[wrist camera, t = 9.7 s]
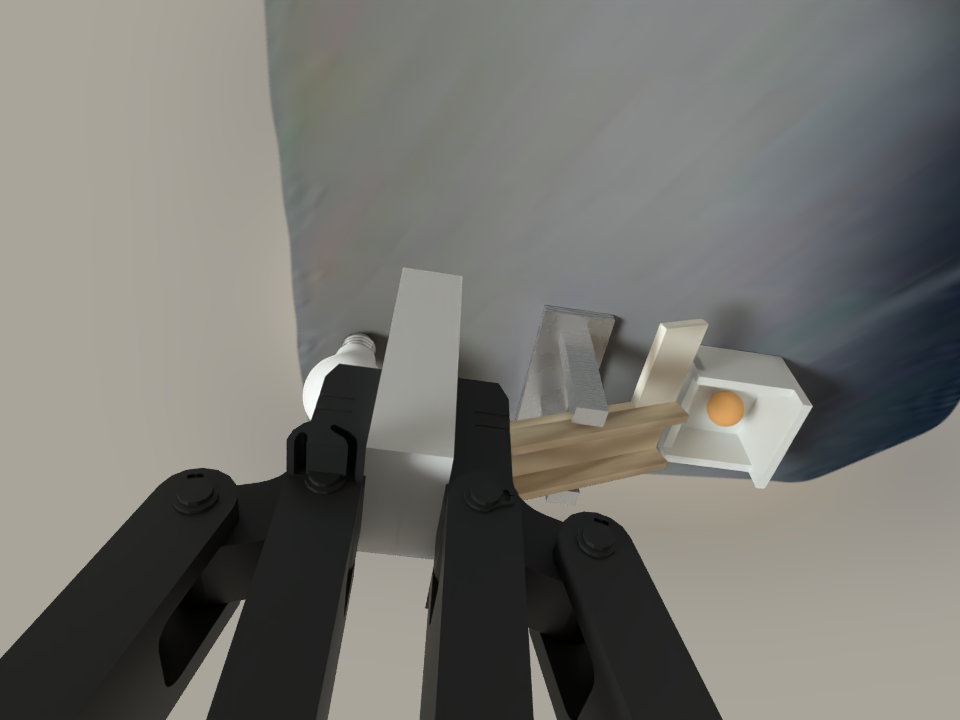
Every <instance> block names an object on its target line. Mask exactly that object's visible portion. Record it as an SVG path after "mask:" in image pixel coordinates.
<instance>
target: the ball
mask: <svg viewBox="0 0 960 720" xmlns="http://www.w3.org/2000/svg"><path fill="white" fill-rule="evenodd" d="M707 414H708V416H709V418H710V419H711V421H712V422H714V423H715V424H717V425H719V426H723V427H729V426H733V425H735V424H737V423H738V422H739V421H740V420H741V419H742V417H743V415H744V404H743V401H742V400H741V398H740V397H739V396H738V395H736V394H735V393H732V392H729V391H721V392H718V393H716V394H714V395H713V396H712V397H711V398H710V399H709V401H708V403H707Z"/></svg>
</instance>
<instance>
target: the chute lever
mask: <svg viewBox="0 0 960 720" xmlns="http://www.w3.org/2000/svg"><path fill="white" fill-rule="evenodd" d="M708 325H709V324H708V323H707V322H705V321H704V320H703V319H694V320H685V321H676V322H667V323H660V326H659V328H658V331H657V334H656V336H655V339H654V342H653V344H652V347H651V349H650V352H649V355H648V357H647V360H646V363H645V365H644V368H643V370H642V373H641V376H640V378H639V381H638V384H637V386H636V389H635V391H634V394H633V397H632V399H631V402H625V403H619V404H613V405H607V406H608V410H609V412H608V415H607V418H606V421H605V423H604V426H603V427H599V426H591V425H584V424H576V423H572V422H571V416H570V410H569V404H568V408H567V411H566V412H565V413H559V414H553V415H547V416H540V417H534V418H528V419H522V420H516V421H510V437H511V456H512V475H513V483H514V488H515V489H516V490H517V492H518V495H519V496H520V497H521V499H522V500H523V501H524V500H528V499H533V498H537V497H542V496H546V495H551V494H555V493H560V492H564V491H569V490H573V489H578V488H582V487H586V486H591V485H596V484H599V483H605V482H609V481H613V480H618V479H622V478H626V477H631V476H636V475H640V474H645V473H649V472H654V471H658V470H663V469H665V468H666V466H667V464H668V461H667V460H666V459H665V458H664V457H663V456H662V454H661V453H660V452H659V451H658V450H657V449H656V446H657V444H658V441H659V439H660V437H661V434H662V432H663V430H664V427H667V426H672V425H677V424H683V423H686V422H687V420H688V417H689V414H688V413H687V412H686V411H685V410H684V409H683V408H682V407H681V406H680V405H679V404H678V403H677V402H676V400H677V397H678V395H679V393H680V390H681V388H682V386H683V383H684V381H685V379H686V376H687V374H688V372H689V369H690V367H691V365H692V362H693V360H694V358H695V355H696V353H697V351H698V348H699V346H700V344H701V341H702V339H703V337H704V334H705V332H706V330H707V327H708Z"/></svg>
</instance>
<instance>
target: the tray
mask: <svg viewBox="0 0 960 720" xmlns="http://www.w3.org/2000/svg"><path fill="white" fill-rule="evenodd" d="M721 391H729V392H732V393H735V394H736V395H738V396H739V397H740V398H741V400H742V401H743V404H744V415H743V417H742V419H741V420H740V421H739V422H738V423H737V424H735V425H733V426H729V427H723V426H719V425H717V424H715V423H714V422H712V421H711V419H710V418H709V416H708V414H707V403H708V401H709V399H710V398H711V397H712V396H713V395H714V394H716V393H718V392H721ZM676 402H677V403H678V404H679V405H680V406H681V407H682V408H683V409H684V410H685V411H686V412H687V413H688V414H689V417H688V420H687V422H686V423H683V424H677V425H672V426H667V427H664V430H663V432H662V434H661V437H660V439H659V441H658V444H657V446H658V449H659V452H660V453H661V454H662V456H663V457H664V458H665V459H666V460H667V461H668V462H675V463H683V464H691V465H698V466H706V467H714V468H722V469H730V470H738V471H746V472H749V474H750V476H751V478H752V480H753V483H754V485H755V487H756V488H761V489H765V487H766V485H767V484H768V482H769V480H770V479H771V477H772V475H773V474H774V472H775V470H776V468H777V467H778V465H779V463H780V462H781V460H782V458H783V456H784V455H785V453H786V451H787V450H788V448H789V446H790V444H791V443H792V441H793V439H794V438H795V436H796V434H797V432H798V431H799V429H800V427H801V426H802V424H803V422H804V420H805V419H806V417H807V415H808V414H809V412H810V410H811V408H812V407H813V406H812V404H811V403H810V401H809V400H808V398H807V396H806V395H805V393H804V392H803V390H802V389H801V387H800V385H799V384H798V382H797V381H796V379H795V378H794V376H793V374H792V373H791V371H790V370H789V368H788V367H787V365H786V363H785V362H784V360H783V359H782V357H780V356H773V355H766V354H759V353H752V352H745V351H738V350H731V349H724V348H718V347H711V346H704V345H700V346H699V348H698V351H697V353H696V355H695V358H694V360H693V362H692V365H691V367H690V369H689V372H688V374H687V376H686V379H685V381H684V383H683V386H682V388H681V390H680V393H679V395H678V397H677V400H676Z"/></svg>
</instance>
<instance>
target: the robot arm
mask: <svg viewBox="0 0 960 720" xmlns="http://www.w3.org/2000/svg"><path fill="white" fill-rule="evenodd" d="M462 278H463V276H457V275H450V274H444V273H437V272H430V271H424V270H417V269H410V268H403V271H402V276H401V281H400V285H399V290H398V295H397V300H396V305H395V310H394V314H393V319H392V324H391V329H390V334H389V339H388V344H387V348H386V353H385V358H384V363H383V368H382V369H377V368H370V367H362V366H355V365H347V364H340V363H339V364H338V365H337V366H336V367H335V368H334V369H333V370H331V371H330V372H329V373H328V374H327V375H326V376H325V378H324V381H323V384H322V388H321V391H320V395H319V397H318V400H317V403H316V408H315V409H314V413H313V416H312V419H311V421H310V422H306V423H303V424H302V425H300V426H299V427H297V428H296V429H294V430H293V431H292V433H291V434H290V435H289V437H288V439H287V472H285V473H284V474H282V475H281V476H279V477H276V478H274V479H271V480H268V481H263V482H259V483H252V484H244V485H236V484H235V483H234V481H233V480H232V479H231V477H230V476H228V475H226V474H224V473H222V472H220V471H219V470H213V469H206V468H199V469H190V470H185V471H182V472H180V473H177V474H175V475H172V476H171V477H169V478H168V479H167V480H165V481H164V482H163V483H162V484H160V485H159V486H158V487H157V488H156V489H155V491H154V492H153V493H152V494H151V495H150V496H149V497H148V498H147V499H146V500H145V501H144V503H143V504H142V505H141V506H140V507H139V508H138V509H137V510H136V511H135V512H134V513H133V514H132V516H131V517H130V518H129V519H128V520H127V521H126V522H125V523H124V524H123V525H122V526H121V528H120V529H119V530H118V531H117V532H116V533H115V534H114V535H113V536H112V537H111V538H110V540H109V541H108V542H107V543H106V544H105V545H104V546H103V547H102V548H101V549H100V550H99V552H98V553H97V554H96V555H95V556H94V557H93V558H92V559H91V560H90V561H89V563H88V564H87V565H86V566H85V567H84V568H83V569H82V570H81V571H80V572H79V573H78V574H77V576H76V577H75V578H74V579H73V580H72V581H71V582H70V583H69V585H68V586H66V588H65V589H64V590H63V591H62V592H61V593H60V594H59V595H58V596H57V597H56V599H55V600H54V601H53V602H52V603H51V604H50V605H49V606H48V607H47V608H46V610H44V612H43V613H42V614H41V615H40V616H39V617H38V618H37V619H36V620H35V621H34V623H33V624H32V625H31V626H30V627H29V628H28V629H27V630H26V631H25V632H24V633H23V635H22V636H21V637H20V638H19V639H18V640H17V641H16V642H15V643H14V644H13V646H12V647H11V648H10V649H9V650H8V651H7V652H6V653H5V654H4V655H3V656H2V657H1V659H0V720H166V718H167V717H168V715H169V713H170V712H171V711H172V709H173V707H174V706H175V704H176V703H177V701H178V700H179V698H180V696H181V695H182V693H183V692H184V690H185V689H186V687H187V685H188V684H189V682H190V681H191V679H192V677H193V676H194V675H195V672H196V671H197V670H198V668H199V667H200V665H201V663H202V662H203V660H204V659H205V657H206V656H207V654H208V653H209V651H210V649H211V648H212V646H213V645H214V643H215V642H216V640H217V638H218V637H219V635H220V634H221V632H222V631H223V629H224V627H225V626H226V624H227V623H228V621H229V620H230V618H231V617H232V615H233V613H234V612H235V610H236V609H237V607H238V606H239V603H240V601H241V600H244V599H246V600H245V603H244V606H243V609H242V612H241V615H240V618H239V621H238V624H237V627H236V631H235V634H234V637H233V640H232V643H231V646H230V649H229V652H228V655H227V658H226V661H225V664H224V667H223V670H222V673H221V676H220V679H219V682H218V685H217V689H216V692H215V695H214V698H213V701H212V704H211V707H210V710H209V713H208V716H207V719H206V720H327V719H328V714H329V708H330V703H331V697H332V692H333V686H334V681H335V675H336V670H337V664H338V659H339V653H340V648H341V642H342V637H343V631H344V626H345V620H346V615H347V610H348V604H349V598H350V593H351V587H352V582H353V577H354V566H355V557H356V552H357V551H361V552H370V553H379V554H388V555H397V556H407V557H416V558H425V559H434V568H433V572H432V577H431V583H430V587H429V593H428V597H427V603H426V607H425V608H427V609H428V619H427V632H426V645H425V658H424V670H423V685H422V696H421V697H422V698H421V709H420V720H534V718H533V703H532V684H531V668H530V651H529V634H528V627H529V632H530V636H531V638H532V642H533V645H534V648H535V651H536V654H537V657H538V661H539V664H540V667H541V670H542V673H543V677H544V680H545V683H546V686H547V689H548V692H549V696H550V699H551V702H552V705H553V708H554V711H555V714H556V718H557V720H723V719H722V718H721V715H720V714H719V712H718V710H717V708H716V706H715V704H714V702H713V700H712V698H711V696H710V694H709V692H708V690H707V688H706V686H705V684H704V682H703V680H702V678H701V676H700V674H699V672H698V670H697V668H696V666H695V664H694V662H693V660H692V658H691V656H690V654H689V652H688V650H687V648H686V646H685V644H684V642H683V640H682V638H681V637H680V635H679V632H678V630H677V629H676V627H675V624H674V623H673V621H672V619H671V617H670V615H669V613H668V611H667V609H666V607H665V605H664V603H663V601H662V599H661V597H660V595H659V593H658V591H657V589H656V587H655V585H654V583H653V581H652V579H651V577H650V575H649V573H648V571H647V569H646V567H645V565H644V563H643V561H642V559H641V557H640V555H639V553H638V551H637V549H636V547H635V545H634V543H633V542H632V539H631V538H630V536H629V535H628V534H627V532H626V531H625V530H624V528H623V527H622V526H621V525H619V524H618V523H617V522H615V521H614V520H613V519H611V518H609V517H607V516H604V515H601V514H599V513H593V512H580V513H576V514H573V515H571V516H569V517H568V518H567V519H566V520H565V521H564V522H562V521H559V520H557V519H554V518H552V517H549V516H546V515H544V514H542V513H540V512H538V511H536V510H534V509H533V508H531V507H530V506H529V505H527V504H526V503H525V502H524V501H523V500H522V499H521V497H520V496H519V495H518V492H517V490H516V489H515V488H514V483H513V475H512V456H511V437H510V419H509V399H508V398H507V396H506V394H505V393H504V391H503V390H502V388H501V386H500V385H499V383H492V382H485V381H477V380H470V379H462V378H458V359H459V339H460V319H461V298H462Z"/></svg>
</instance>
